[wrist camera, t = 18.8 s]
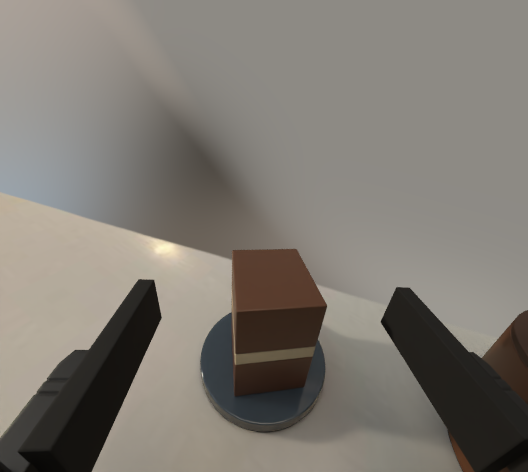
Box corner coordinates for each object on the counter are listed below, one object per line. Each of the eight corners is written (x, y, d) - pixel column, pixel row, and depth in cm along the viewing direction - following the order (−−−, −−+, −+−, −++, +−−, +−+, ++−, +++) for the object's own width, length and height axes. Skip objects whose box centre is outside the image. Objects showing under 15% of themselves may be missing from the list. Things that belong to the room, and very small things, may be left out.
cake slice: (231, 324, 20) (232, 249, 16) (284, 320, 21) (296, 248, 17) (234, 397, 15) (236, 311, 11) (304, 387, 16) (327, 305, 12)
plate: (297, 307, 24) (298, 300, 24) (347, 413, 16) (351, 405, 15) (202, 318, 22) (201, 311, 21) (199, 450, 13) (198, 443, 13)
